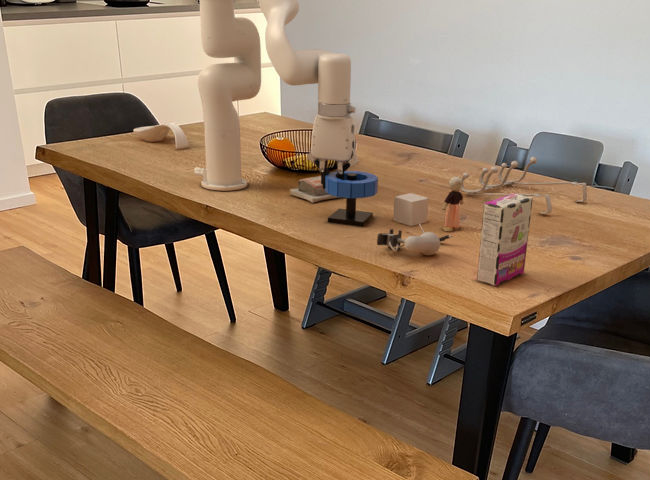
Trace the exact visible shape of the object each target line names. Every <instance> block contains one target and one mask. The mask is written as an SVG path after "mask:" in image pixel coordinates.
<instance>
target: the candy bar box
mask: <svg viewBox="0 0 650 480" xmlns="http://www.w3.org/2000/svg"><path fill="white" fill-rule="evenodd" d="M510 194H511V195H507V196H506V195H503V196H501V197H499V198H495V199H493V200H490V201H487V202H484V203H483V211H482V221H481V231H480V232H481V233H480V242H479V243H480V244H479V253H478V264H477V274H476V275H477V276H476V280H477V282H479V283H483V284H486V285H491V286H494V287H497V286H499V285H501V284H503V283H506V282H508V281H510V280H513V279H514V278H517V277H519V276H521V275H524V273H525V266H526V259H527V250H528V241H529V232H530V225H531V215H532V207H533V201H534V200H533V199H534V197H533V196H525V195H519V194H520V193H515V192H514V193H510Z"/></svg>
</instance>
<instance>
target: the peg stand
mask: <svg viewBox="0 0 650 480" xmlns="http://www.w3.org/2000/svg"><path fill="white" fill-rule="evenodd" d="M347 180H349V181H357V174H354V173H349V174H347ZM345 200H346V201H345V208H338V209H337V210H335V211H333V213H331V214H330V215H329V216H328V217H327V223H330V224H336V225H337V224H338V225H344V226H345V225H346V226H352V227H361V228H363V227H364V226H365V225H366V224H367V223H368V222H370V220H371V219H373V218H374V212H371V211H365V210H364V211H363V210H357V198H345Z"/></svg>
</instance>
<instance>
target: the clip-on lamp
mask: <svg viewBox="0 0 650 480" xmlns="http://www.w3.org/2000/svg"><path fill="white" fill-rule="evenodd" d="M418 225H419V227H420V229H421V232H422V233H421V234H420V235H409V236H407V237H406V238H402V234H403V230H401V229H400V230H398V234H394V229H393V228H390V229H389V232H380V233H378V234H377V238H376V245H377V246H385V247H387V249H391V250H392V251H393V252H394V253H396V252H397V251H398V250H400V249H401V248H403V247H404V248H405V250H406V251H407V252H409V253H417V252H418V253H421V255H424V256H433V255H435V254H436V253H438V251H439V250H440V247H441V242H445V240H449V239H450V238H452V237H453V235H449V234H447V235H446V234H445V235H444V236H441V237H439V236H438V234H436V233H435V232H432V231H424V229H423V227H422V223H421V224H420V223H419V224H418ZM395 247H396V248H395Z"/></svg>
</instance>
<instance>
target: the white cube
mask: <svg viewBox="0 0 650 480" xmlns="http://www.w3.org/2000/svg"><path fill="white" fill-rule="evenodd" d="M429 200H430V198H429V197H426V196H423V195H419V194H416V193H413V192H409V193H405V194H401V195H400V194H399V195H396V196H394V199H393V201H394V202H393V216H392V217H393V218H392V221H394V222H397V223H400V224H403V225H405V226H409V227H413V226H415V225H416V226H417V225H419V223H420V224H421V225H422V224H424V223H428V214H429V213H428V212H429V203H430V202H429Z"/></svg>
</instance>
